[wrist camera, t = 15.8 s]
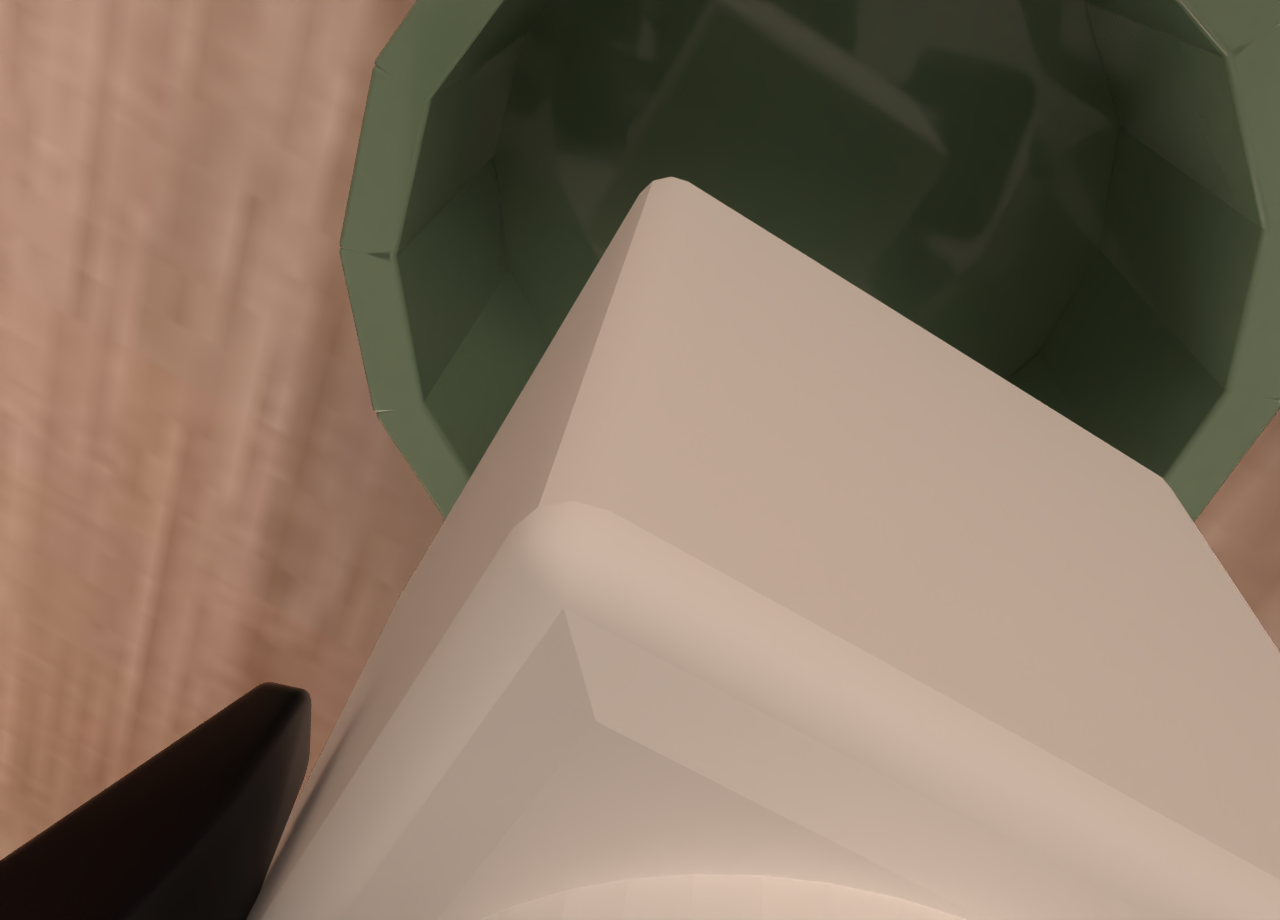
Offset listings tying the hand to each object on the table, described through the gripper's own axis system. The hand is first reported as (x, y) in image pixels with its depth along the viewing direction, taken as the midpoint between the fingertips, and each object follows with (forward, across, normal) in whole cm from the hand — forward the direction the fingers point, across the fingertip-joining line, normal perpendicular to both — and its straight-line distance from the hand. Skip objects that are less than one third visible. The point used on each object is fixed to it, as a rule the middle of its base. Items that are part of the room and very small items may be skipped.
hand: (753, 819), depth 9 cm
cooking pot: (+13, 0, -2) cm, 13 cm away
